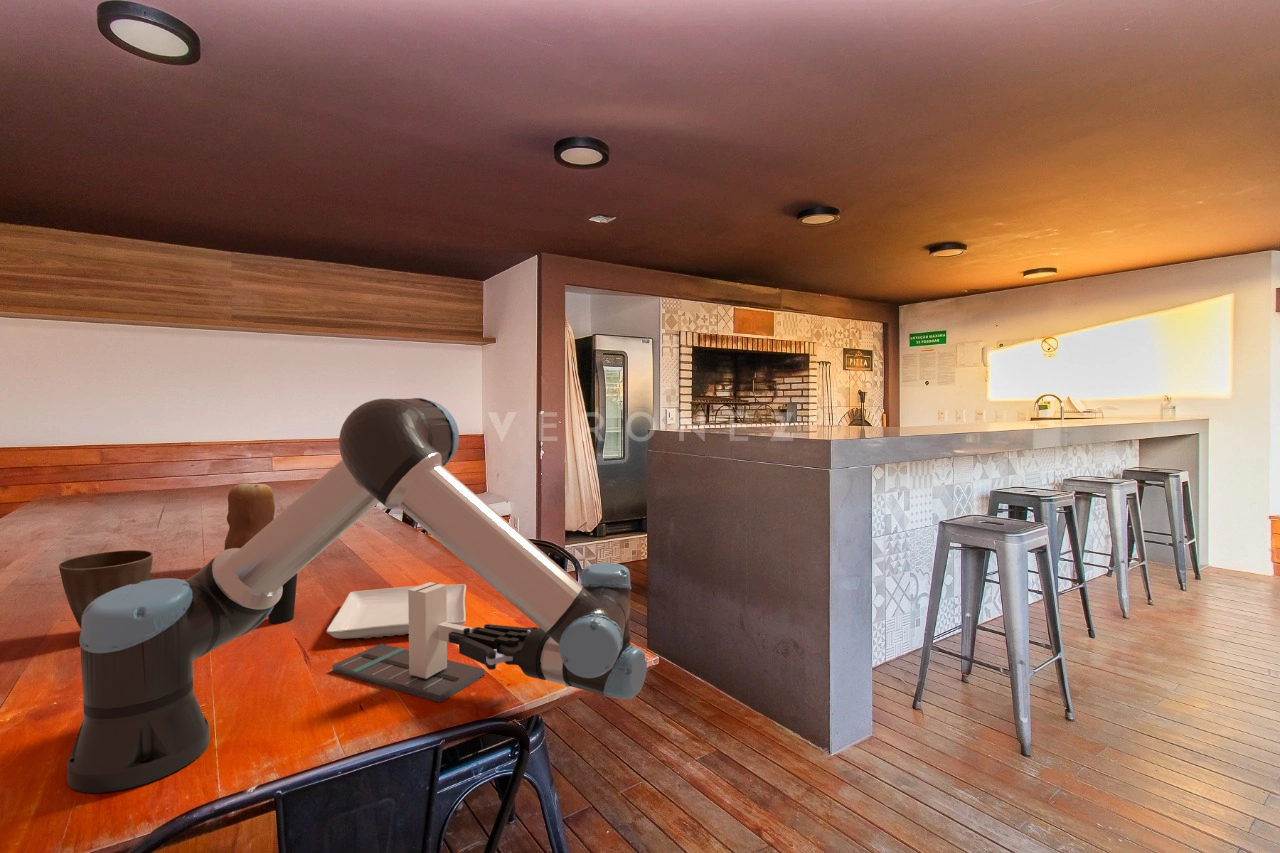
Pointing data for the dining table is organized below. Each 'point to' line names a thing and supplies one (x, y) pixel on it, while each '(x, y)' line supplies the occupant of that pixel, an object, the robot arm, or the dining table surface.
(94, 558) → the plant pot
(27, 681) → the dining table surface
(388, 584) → the dining table surface
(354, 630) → the square plate
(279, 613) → the drinking cup
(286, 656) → the dining table surface
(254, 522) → the butternut squash
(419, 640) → the fader tab
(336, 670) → the dark grey marked board
